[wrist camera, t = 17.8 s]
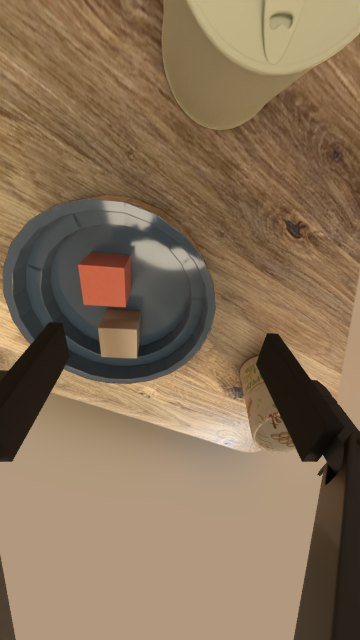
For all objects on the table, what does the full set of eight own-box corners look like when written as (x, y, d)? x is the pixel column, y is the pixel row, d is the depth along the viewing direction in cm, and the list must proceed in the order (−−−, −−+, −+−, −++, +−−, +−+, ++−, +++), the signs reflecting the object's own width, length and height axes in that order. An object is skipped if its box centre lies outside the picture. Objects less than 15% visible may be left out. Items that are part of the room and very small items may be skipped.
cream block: (140, 310, 27) (136, 329, 23) (140, 337, 29) (137, 358, 26) (106, 308, 26) (97, 327, 23) (108, 336, 29) (101, 357, 25)
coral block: (130, 255, 23) (124, 268, 20) (131, 290, 25) (125, 307, 22) (90, 251, 23) (77, 264, 20) (94, 288, 25) (83, 305, 22)
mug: (233, 392, 36) (254, 457, 28) (227, 330, 30) (251, 390, 21) (285, 383, 36) (322, 446, 27) (291, 318, 29) (341, 374, 21)
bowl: (222, 206, 22) (235, 213, 18) (195, 358, 32) (199, 386, 28) (7, 183, 20) (-36, 185, 16) (52, 353, 30) (33, 381, 26)
